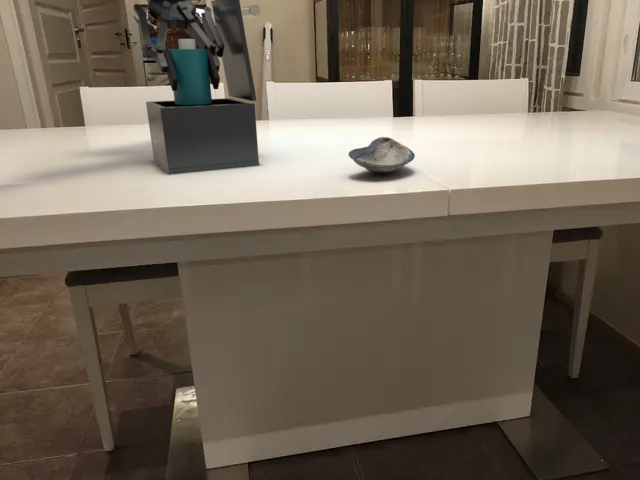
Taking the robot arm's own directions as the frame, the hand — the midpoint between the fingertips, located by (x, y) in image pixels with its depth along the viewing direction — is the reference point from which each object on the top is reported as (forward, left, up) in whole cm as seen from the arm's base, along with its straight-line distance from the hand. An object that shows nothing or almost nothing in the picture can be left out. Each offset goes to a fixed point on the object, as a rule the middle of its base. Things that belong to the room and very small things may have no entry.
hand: (196, 84), depth 95 cm
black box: (+1, +4, -14) cm, 15 cm away
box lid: (+8, +4, +5) cm, 10 cm away
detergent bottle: (0, +4, -3) cm, 5 cm away
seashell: (+25, -19, -15) cm, 35 cm away
